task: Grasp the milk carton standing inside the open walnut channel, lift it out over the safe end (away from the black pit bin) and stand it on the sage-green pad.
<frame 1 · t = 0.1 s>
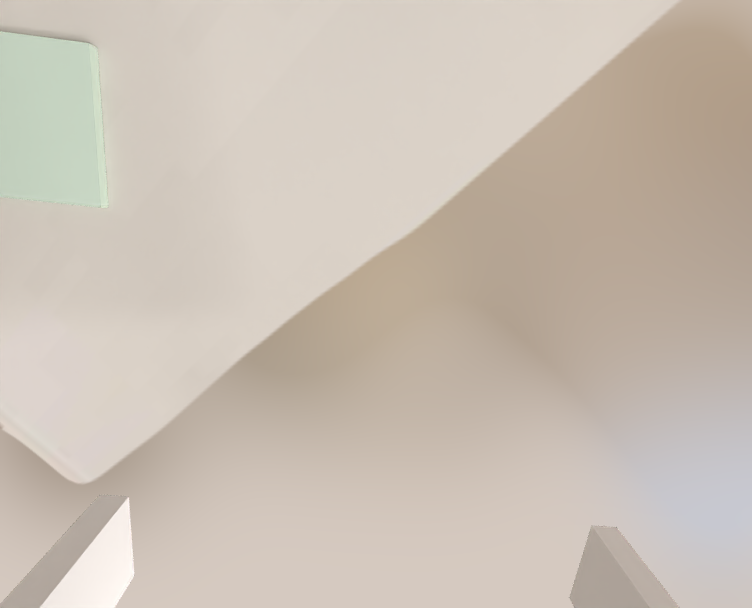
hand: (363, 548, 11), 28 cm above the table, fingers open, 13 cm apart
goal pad: (31, 123, 33), on the table
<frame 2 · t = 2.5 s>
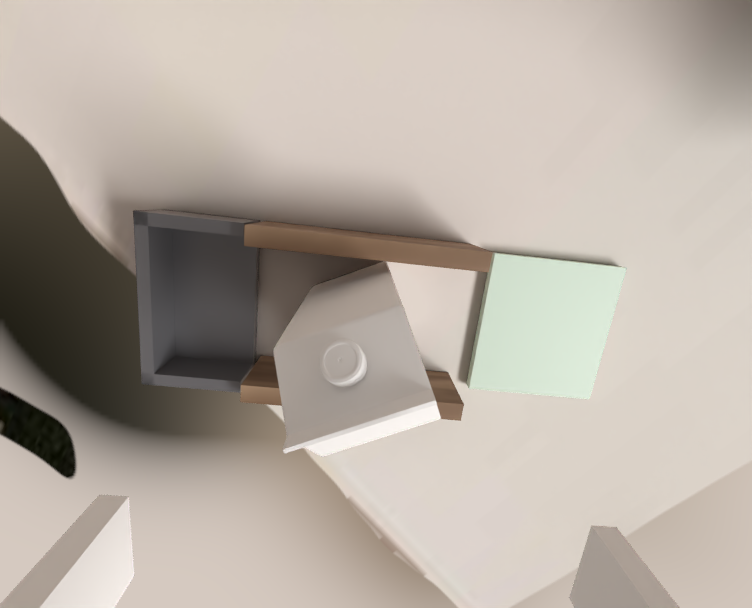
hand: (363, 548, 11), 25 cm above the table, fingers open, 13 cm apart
channel: (361, 309, 35), on the table
milk carton: (361, 308, 35), on the table
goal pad: (540, 327, 36), on the table
pit bin: (212, 294, 34), on the table
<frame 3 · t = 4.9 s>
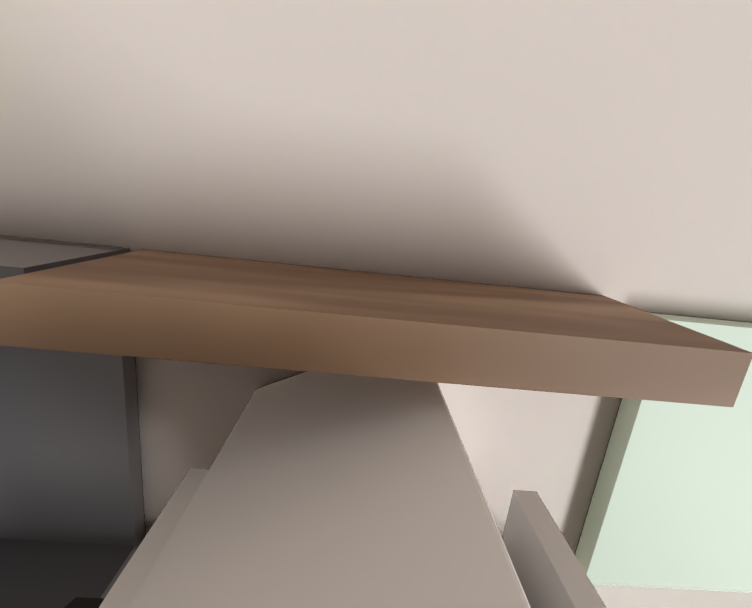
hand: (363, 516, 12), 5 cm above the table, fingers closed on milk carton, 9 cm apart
channel: (363, 431, 16), on the table
milk carton: (363, 428, 17), on the table, touching gripper
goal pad: (731, 459, 17), on the table
pit bin: (38, 407, 16), on the table
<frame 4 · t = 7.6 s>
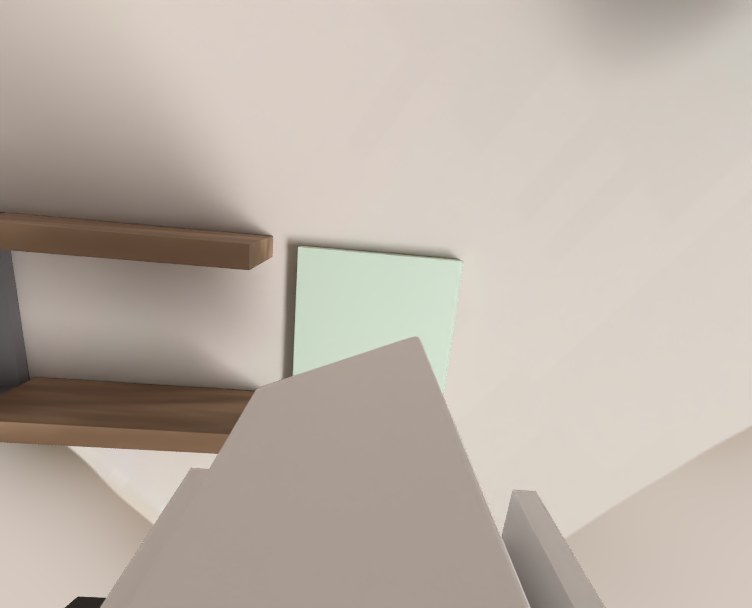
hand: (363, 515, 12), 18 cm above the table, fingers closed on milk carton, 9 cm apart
channel: (150, 318, 29), on the table
milk carton: (364, 428, 17), point 13 cm above the table, touching gripper
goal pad: (373, 335, 30), on the table
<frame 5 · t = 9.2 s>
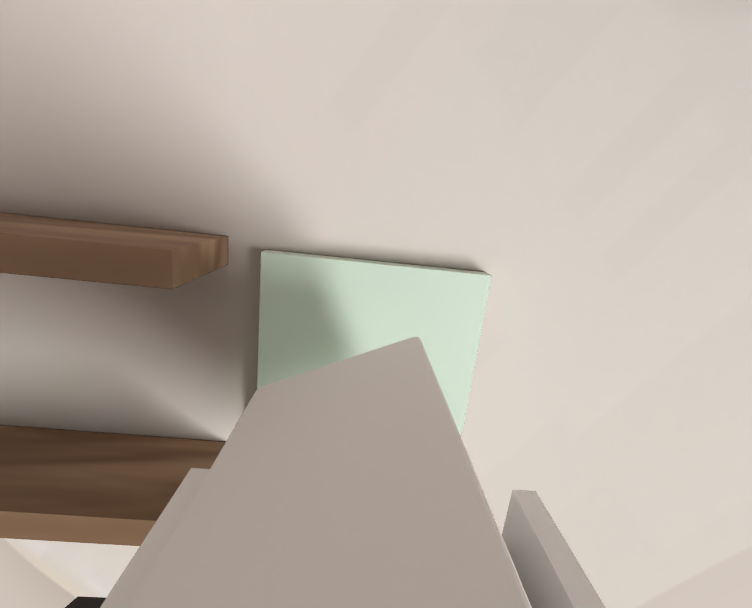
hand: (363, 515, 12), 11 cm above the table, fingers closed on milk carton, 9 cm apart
channel: (64, 344, 21), on the table
milk carton: (364, 428, 17), point 6 cm above the table, touching gripper
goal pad: (365, 371, 22), on the table
when the fingers open (7 cm above the table, at t = 10.4 s): milk carton drops 1 cm, resting on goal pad.
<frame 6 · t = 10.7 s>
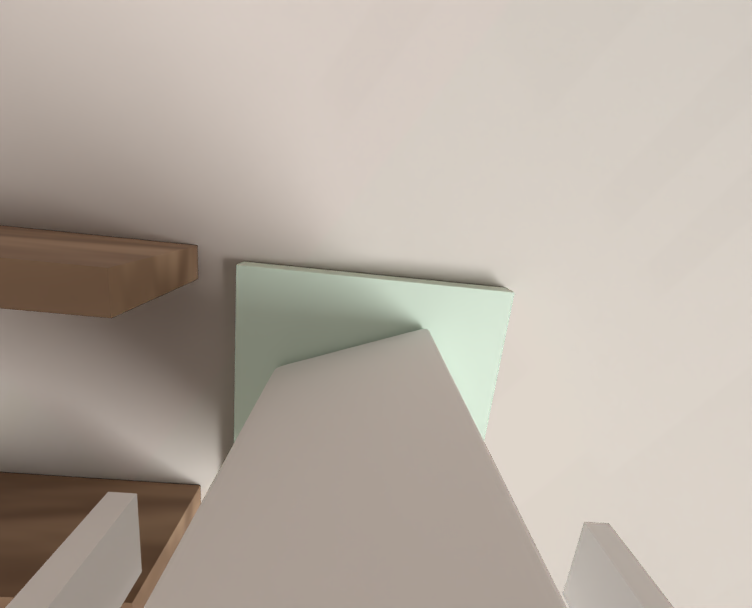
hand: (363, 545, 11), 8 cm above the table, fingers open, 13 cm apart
channel: (4, 374, 18), on the table
milk carton: (371, 411, 18), point 1 cm above the table, touching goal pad
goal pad: (363, 403, 19), on the table
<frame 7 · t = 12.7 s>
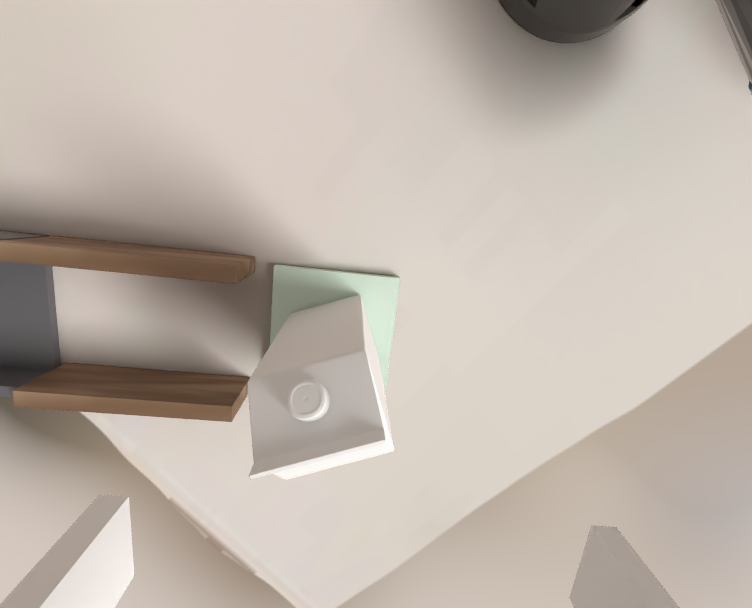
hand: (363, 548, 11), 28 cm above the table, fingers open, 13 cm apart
channel: (158, 318, 37), on the table
milk carton: (335, 336, 37), point 1 cm above the table, touching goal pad
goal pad: (332, 333, 38), on the table
pit bin: (11, 304, 36), on the table
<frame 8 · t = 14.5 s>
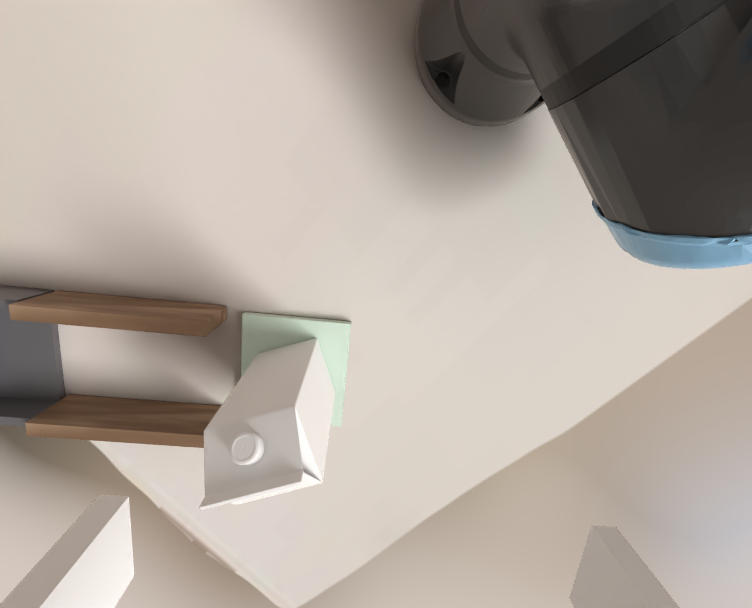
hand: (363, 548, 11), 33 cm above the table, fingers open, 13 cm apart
channel: (146, 357, 43), on the table
milk carton: (297, 372, 44), point 1 cm above the table, touching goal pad
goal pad: (295, 369, 44), on the table
pit bin: (23, 347, 42), on the table
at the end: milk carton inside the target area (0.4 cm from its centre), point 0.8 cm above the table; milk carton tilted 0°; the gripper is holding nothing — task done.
